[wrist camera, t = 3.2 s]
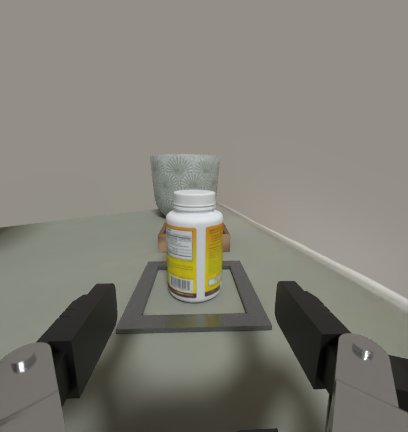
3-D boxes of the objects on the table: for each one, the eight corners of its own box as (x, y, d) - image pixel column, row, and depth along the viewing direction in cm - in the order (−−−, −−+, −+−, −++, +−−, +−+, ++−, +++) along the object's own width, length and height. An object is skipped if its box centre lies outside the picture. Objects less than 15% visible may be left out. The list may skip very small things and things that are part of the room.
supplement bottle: (215, 275, 26) (218, 188, 23) (227, 303, 20) (231, 194, 18) (168, 277, 25) (166, 188, 23) (166, 308, 19) (163, 195, 17)
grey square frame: (116, 333, 16) (115, 329, 16) (148, 264, 28) (148, 261, 28) (271, 329, 17) (271, 325, 17) (239, 263, 29) (239, 260, 28)
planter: (226, 223, 50) (228, 154, 46) (150, 226, 46) (147, 153, 43) (210, 209, 66) (211, 158, 62) (154, 211, 63) (151, 157, 59)
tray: (158, 252, 32) (158, 235, 32) (167, 231, 43) (166, 218, 42) (229, 251, 33) (230, 235, 32) (220, 231, 43) (221, 218, 42)
